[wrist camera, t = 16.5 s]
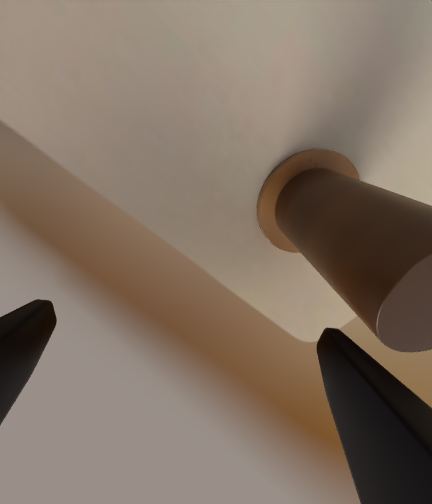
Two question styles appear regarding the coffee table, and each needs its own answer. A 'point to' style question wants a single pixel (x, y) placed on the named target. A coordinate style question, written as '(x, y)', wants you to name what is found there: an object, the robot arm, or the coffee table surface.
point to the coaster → (283, 176)
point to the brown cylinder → (366, 251)
